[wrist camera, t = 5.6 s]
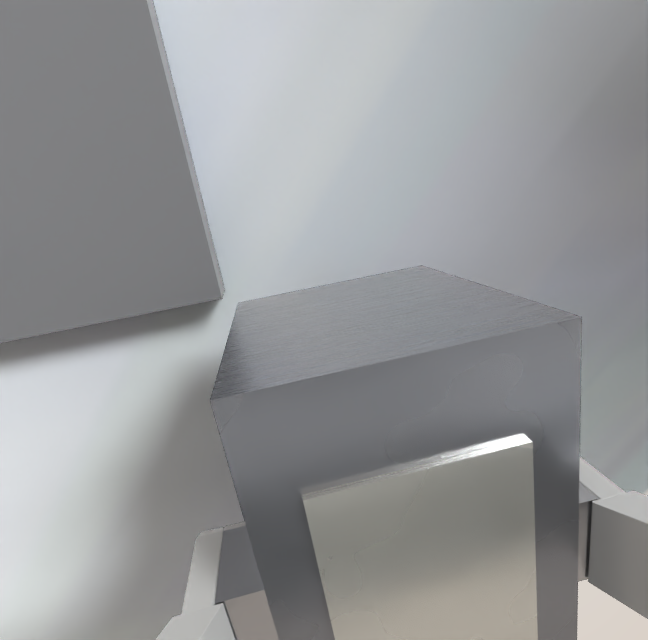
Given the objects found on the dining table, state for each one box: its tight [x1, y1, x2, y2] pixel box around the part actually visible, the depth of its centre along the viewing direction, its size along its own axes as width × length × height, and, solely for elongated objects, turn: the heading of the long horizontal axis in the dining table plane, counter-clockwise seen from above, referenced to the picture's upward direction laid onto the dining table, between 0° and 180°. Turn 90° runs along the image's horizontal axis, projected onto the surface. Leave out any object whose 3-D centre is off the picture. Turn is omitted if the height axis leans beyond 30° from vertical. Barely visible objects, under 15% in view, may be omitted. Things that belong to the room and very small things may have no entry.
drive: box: [210, 266, 582, 640], centre depth 8 cm, size 4×9×5 cm, turn 10°
